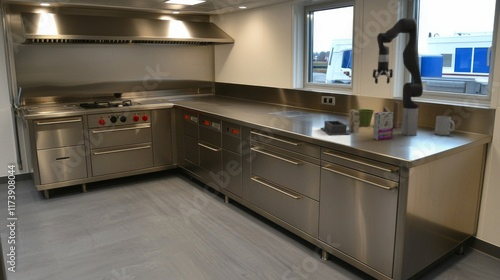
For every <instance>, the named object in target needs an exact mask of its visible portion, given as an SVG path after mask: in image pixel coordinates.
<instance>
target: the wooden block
mask: <svg viewBox="0 0 500 280" xmlns="http://www.w3.org/2000/svg"><path fill="white" fill-rule="evenodd" d="M392 111H393V112H394V113H393V129H394V128H395V129H397V128H399V126H400V122H399V116H400V115H399V114H400V113H399V111H400V101H394V102H393V110H392ZM382 112H391V111H390V109H389V108H388V107H387V106H386V105H385V106H383V110H382Z"/></svg>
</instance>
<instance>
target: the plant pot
mask: <svg viewBox="0 0 500 280" xmlns="http://www.w3.org/2000/svg"><path fill="white" fill-rule="evenodd" d="M356 111H359V112H360V114H359V126H361V127H369V126H371V122H372V118H373V114H374V113H375V110H374V109H369V108H359V109H356Z"/></svg>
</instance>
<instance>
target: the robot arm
mask: <svg viewBox="0 0 500 280" xmlns="http://www.w3.org/2000/svg"><path fill="white" fill-rule="evenodd" d="M400 34H408V35H409V37H408V42H407V44H406V46H405V48H404V50H403V52H402V60H403V61H402V62H403V66H404V67H405V68H406V70H407V71H408V72H409V74H410V76H411V77H412V82H405V83H404V85H403V87H402V115H401V128H400V134H401V135H404V136H407V137H409V136H413V137H414V136H418V135H417V133H418V132H417V131H418V124H419V123H418V118H419V117H418V116H419V108H420V107H419V106H420V105H419V103H418V102H414V101H413V100H412V98H420V97H422V95H423V92H424V88H423V81H422V75H421V71H420V70H421V69H420V56H419V49H418V48H419V47H418V23H417V20H416V18H413V17H411V18H409V17H408V18H407V17H404V18H400V19H399V20H398V21H397V22H396V23H395V24H394V25H393V26H392V27H391V28H390V29H388V30H387V31H385V32H380V33H378V34H377V37H376V39H377V45H378V57H377V69H375V68H373V71H372V78H374V83H375V84H377V85H378V84H379V77H380V76H386V77H387V78H386V84H388V85H389V83H390V79H391V78H393V71H394V70H393V69H391V68H390V69H389V66H390V65H389V63H390V46H386V45H384V44H389V43H392V41H393V40H394V39H396V38H397V37H398V36H399V35H400ZM388 72H389V73H388Z"/></svg>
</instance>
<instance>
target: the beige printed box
mask: <svg viewBox="0 0 500 280" xmlns="http://www.w3.org/2000/svg"><path fill="white" fill-rule="evenodd" d="M359 114H360V112H359V111H357V109H349V124H348V125H349V129H348V130H349V131H351V133H354V134H359V132H360V131H359V130H360V129H359V128H360V123H359Z"/></svg>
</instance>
